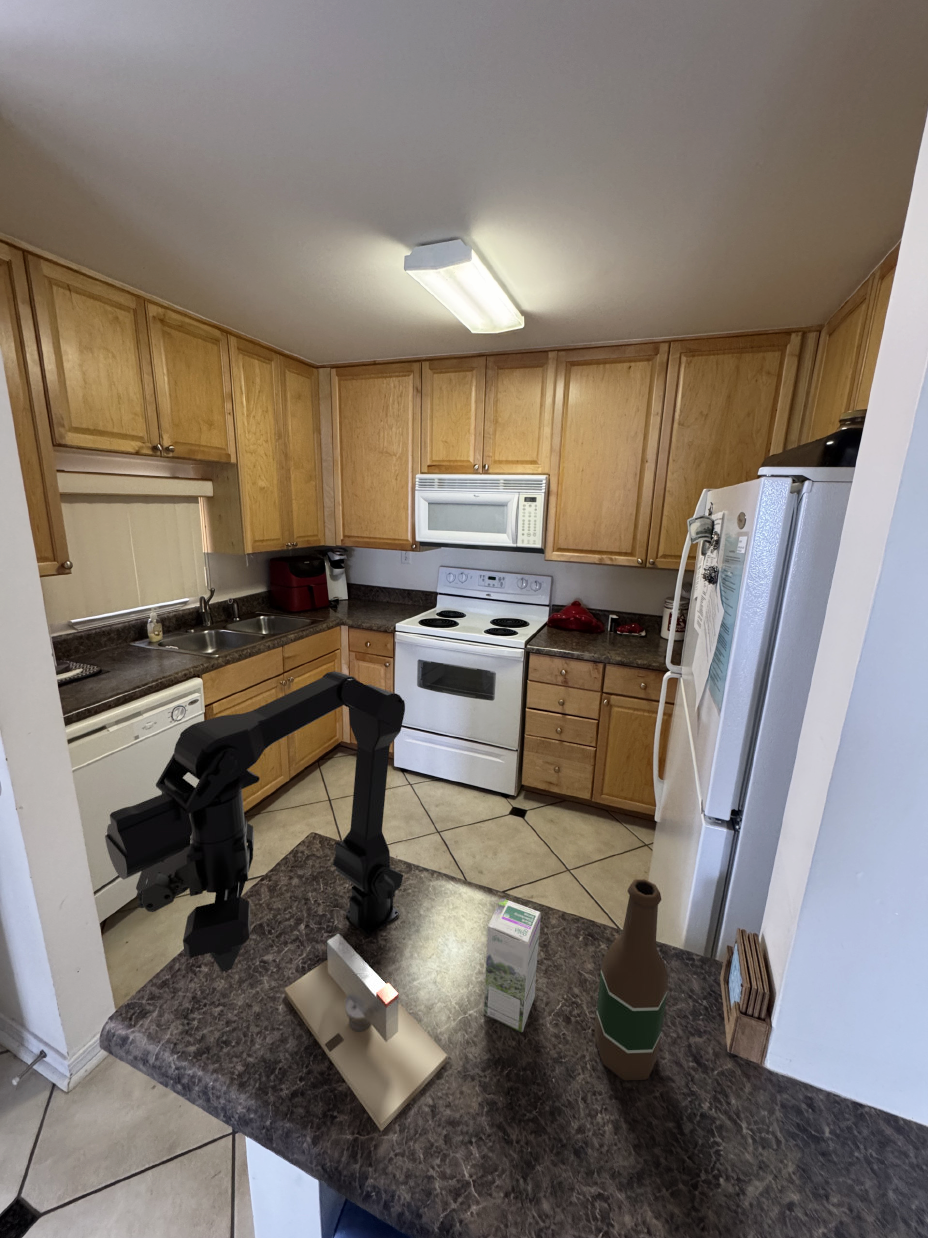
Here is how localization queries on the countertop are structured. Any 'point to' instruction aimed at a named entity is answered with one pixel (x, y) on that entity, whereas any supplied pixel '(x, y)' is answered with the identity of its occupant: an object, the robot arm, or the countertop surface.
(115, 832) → the robot arm
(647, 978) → the beer bottle
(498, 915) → the syrup box
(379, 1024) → the grey rectangular bar
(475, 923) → the countertop surface
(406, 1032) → the post board
